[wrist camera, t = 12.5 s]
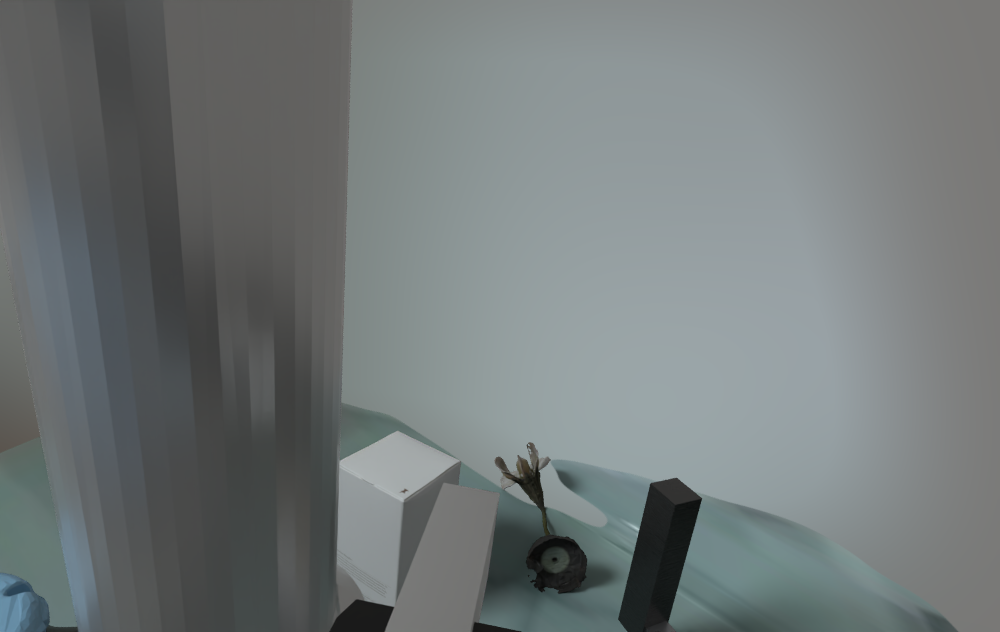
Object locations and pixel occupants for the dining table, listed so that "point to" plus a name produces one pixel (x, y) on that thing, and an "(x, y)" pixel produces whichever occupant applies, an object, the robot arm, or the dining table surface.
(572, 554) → the artificial flower
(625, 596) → the round grey fixture
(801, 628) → the dining table surface
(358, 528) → the supplement box
